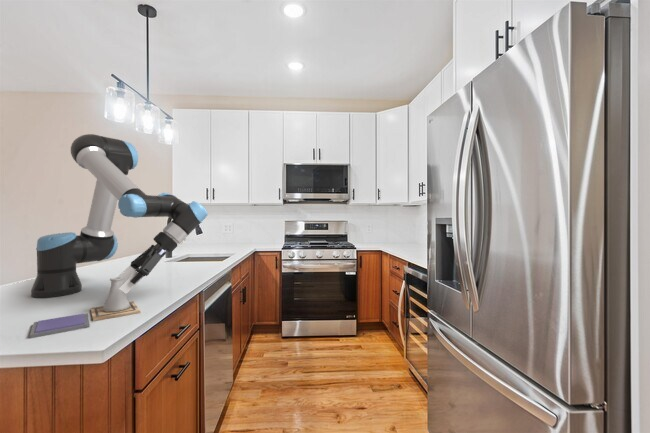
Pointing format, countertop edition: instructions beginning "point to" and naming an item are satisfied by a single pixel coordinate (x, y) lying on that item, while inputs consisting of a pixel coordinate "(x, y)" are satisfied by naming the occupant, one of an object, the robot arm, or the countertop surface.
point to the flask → (116, 297)
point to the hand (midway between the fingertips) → (119, 287)
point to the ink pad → (59, 325)
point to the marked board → (101, 315)
